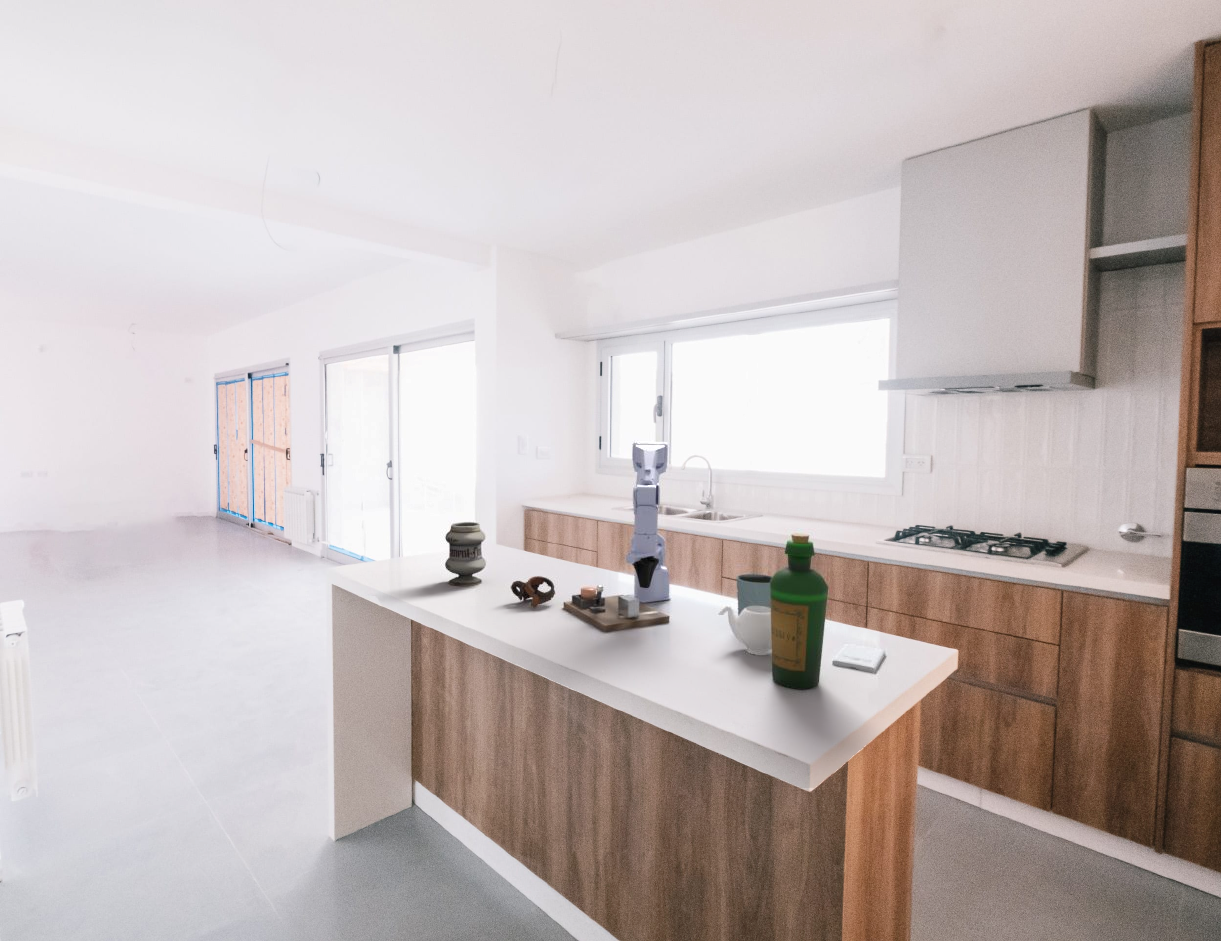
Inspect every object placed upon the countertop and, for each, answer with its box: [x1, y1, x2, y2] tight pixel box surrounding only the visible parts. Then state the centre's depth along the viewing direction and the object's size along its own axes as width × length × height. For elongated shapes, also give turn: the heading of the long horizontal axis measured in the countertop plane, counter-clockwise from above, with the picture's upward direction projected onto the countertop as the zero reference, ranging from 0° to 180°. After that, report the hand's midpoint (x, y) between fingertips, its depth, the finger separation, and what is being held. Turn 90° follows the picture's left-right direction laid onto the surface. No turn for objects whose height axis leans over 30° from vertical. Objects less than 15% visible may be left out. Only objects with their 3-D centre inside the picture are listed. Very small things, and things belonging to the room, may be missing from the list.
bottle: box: [770, 533, 829, 690], centre depth 123 cm, size 11×11×28 cm
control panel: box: [563, 593, 670, 633], centre depth 166 cm, size 18×23×4 cm
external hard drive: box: [831, 643, 886, 673], centre depth 136 cm, size 2×8×12 cm
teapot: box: [718, 605, 772, 656], centre depth 140 cm, size 10×20×9 cm, turn 49°
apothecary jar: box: [444, 521, 487, 587], centre depth 198 cm, size 12×12×18 cm
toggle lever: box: [593, 585, 604, 607], centre depth 163 cm, size 2×2×6 cm
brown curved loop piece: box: [510, 575, 556, 609], centre depth 176 cm, size 12×10×8 cm
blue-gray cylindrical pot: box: [736, 573, 773, 617], centre depth 157 cm, size 10×10×12 cm
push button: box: [580, 586, 597, 600], centre depth 170 cm, size 4×4×2 cm
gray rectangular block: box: [618, 594, 640, 618], centre depth 160 cm, size 3×5×4 cm, turn 29°
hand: (644, 587), depth 162 cm, fingers closed
